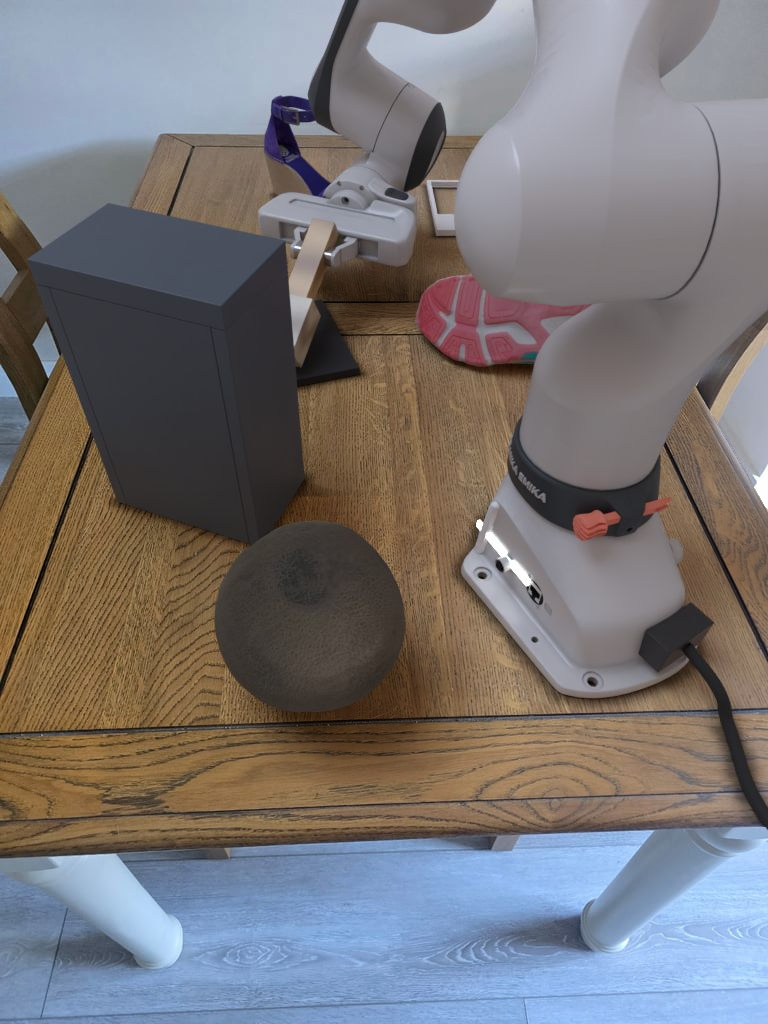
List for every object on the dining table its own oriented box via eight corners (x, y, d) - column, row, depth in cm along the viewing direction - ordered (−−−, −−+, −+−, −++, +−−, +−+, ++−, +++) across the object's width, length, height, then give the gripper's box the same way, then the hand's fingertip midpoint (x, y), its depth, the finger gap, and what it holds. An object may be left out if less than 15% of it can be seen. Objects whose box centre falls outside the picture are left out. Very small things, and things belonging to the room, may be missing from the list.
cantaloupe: (217, 753, 54) (181, 650, 42) (239, 599, 63) (213, 482, 52) (402, 752, 54) (414, 649, 43) (396, 599, 64) (405, 483, 52)
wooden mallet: (306, 227, 88) (297, 206, 84) (350, 236, 87) (343, 216, 83) (256, 356, 85) (244, 341, 81) (301, 368, 84) (292, 353, 80)
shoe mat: (358, 374, 86) (358, 367, 85) (278, 390, 83) (277, 383, 82) (321, 305, 96) (321, 298, 95) (248, 317, 93) (247, 311, 92)
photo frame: (436, 228, 109) (426, 178, 121) (436, 235, 109) (426, 185, 121) (530, 229, 109) (511, 179, 121) (529, 236, 110) (510, 186, 122)
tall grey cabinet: (171, 439, 77) (108, 202, 58) (305, 478, 74) (285, 240, 54) (117, 502, 71) (26, 258, 51) (260, 547, 67) (221, 305, 48)
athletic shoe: (631, 370, 89) (633, 271, 87) (635, 366, 80) (638, 257, 79) (426, 378, 97) (424, 288, 95) (409, 376, 88) (407, 276, 86)
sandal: (363, 229, 110) (364, 126, 99) (261, 198, 117) (250, 98, 106) (389, 210, 115) (393, 109, 104) (289, 181, 121) (282, 83, 110)
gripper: (282, 171, 94) (232, 216, 85) (429, 199, 89) (391, 249, 81) (286, 217, 98) (238, 264, 90) (425, 246, 94) (389, 298, 85)
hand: (312, 257), depth 85 cm, fingers closed on wooden mallet, 3 cm apart
